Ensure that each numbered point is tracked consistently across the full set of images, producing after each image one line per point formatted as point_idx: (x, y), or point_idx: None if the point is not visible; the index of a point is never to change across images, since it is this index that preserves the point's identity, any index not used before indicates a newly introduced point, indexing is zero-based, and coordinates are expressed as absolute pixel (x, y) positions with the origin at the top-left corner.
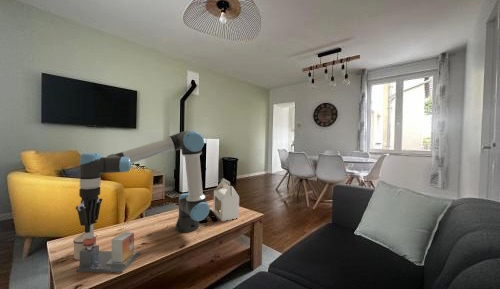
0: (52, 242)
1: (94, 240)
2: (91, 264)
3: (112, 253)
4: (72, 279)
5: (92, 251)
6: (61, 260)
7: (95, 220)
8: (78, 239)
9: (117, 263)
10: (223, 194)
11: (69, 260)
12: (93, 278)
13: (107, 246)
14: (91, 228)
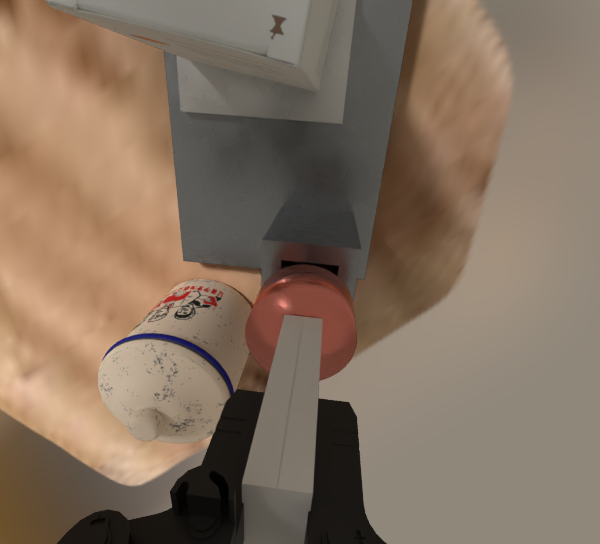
0: (135, 485)
1: (311, 282)
2: (348, 215)
3: (316, 74)
4: (428, 252)
5: (344, 243)
6: (261, 387)
7: (137, 524)
8: (208, 418)
9: (348, 17)
10: None
11: None
12: (444, 137)
13: (108, 255)
14: (313, 425)
